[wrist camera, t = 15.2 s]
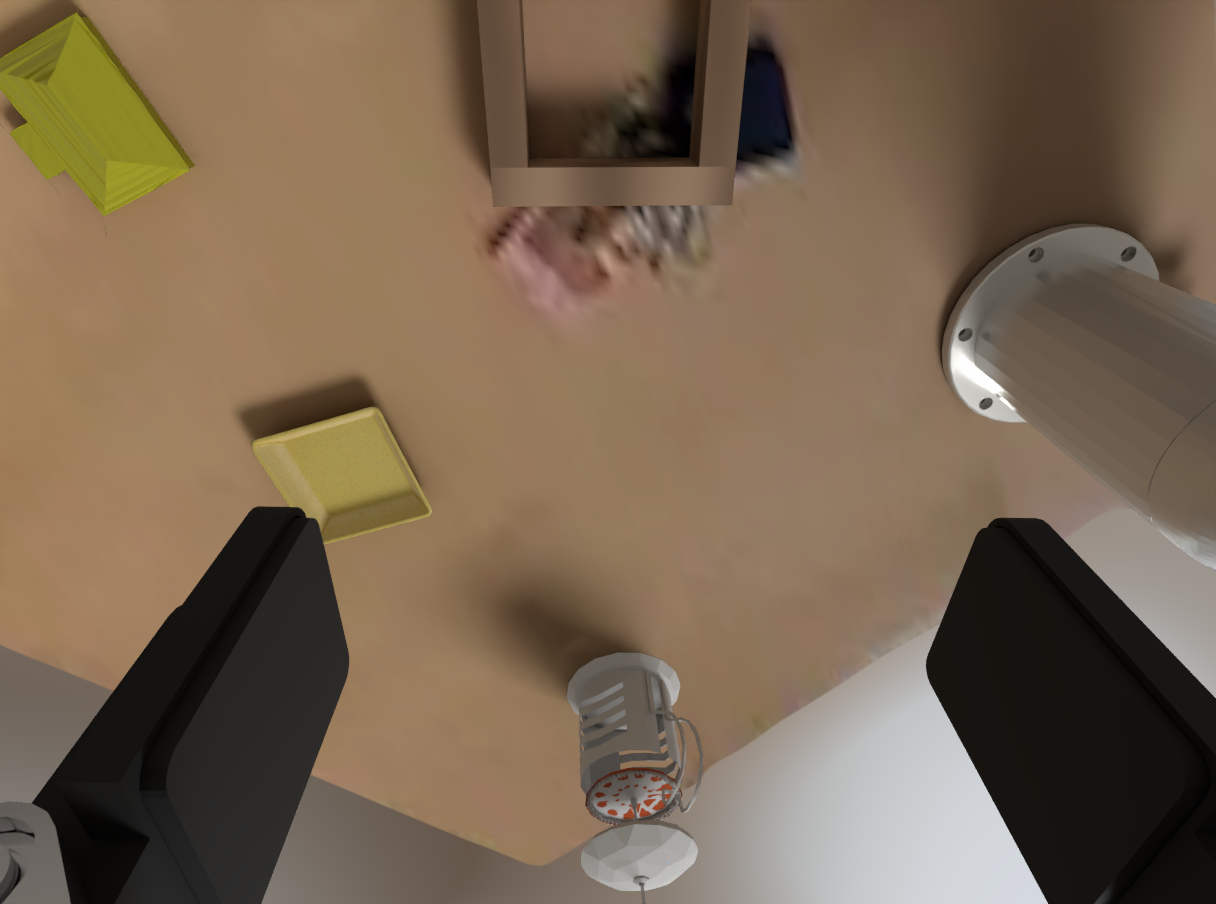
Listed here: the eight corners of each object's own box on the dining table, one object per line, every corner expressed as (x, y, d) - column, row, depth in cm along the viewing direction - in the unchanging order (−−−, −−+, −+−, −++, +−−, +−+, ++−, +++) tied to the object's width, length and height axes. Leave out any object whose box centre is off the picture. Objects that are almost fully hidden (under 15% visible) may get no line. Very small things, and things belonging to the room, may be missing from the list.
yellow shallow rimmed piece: (258, 426, 43) (245, 443, 41) (384, 390, 42) (377, 405, 40) (324, 528, 47) (315, 547, 46) (439, 497, 47) (434, 515, 45)
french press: (543, 701, 58) (532, 1086, 37) (629, 622, 54) (674, 1007, 32) (630, 741, 62) (667, 1112, 40) (718, 670, 57) (810, 1045, 36)
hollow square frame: (744, -87, 30) (761, -98, 28) (719, 193, 37) (731, 204, 34) (476, -92, 30) (468, -104, 27) (498, 194, 36) (493, 206, 34)
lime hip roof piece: (245, 178, 36) (222, 188, 33) (107, 251, 37) (75, 265, 35) (99, -35, 31) (59, -42, 28) (-54, 58, 32) (-105, 59, 30)
